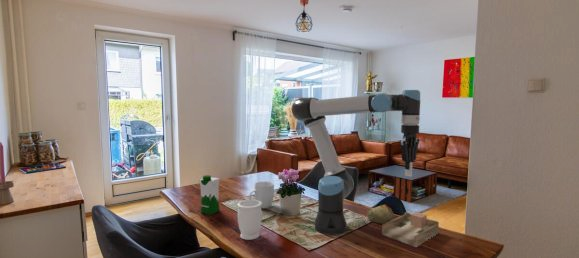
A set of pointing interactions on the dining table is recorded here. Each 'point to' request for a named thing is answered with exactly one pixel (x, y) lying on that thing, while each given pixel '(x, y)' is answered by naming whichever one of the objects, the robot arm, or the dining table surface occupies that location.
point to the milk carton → (209, 195)
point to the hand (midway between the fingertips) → (408, 176)
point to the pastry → (380, 214)
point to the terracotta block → (418, 220)
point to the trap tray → (409, 230)
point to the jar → (249, 218)
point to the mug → (264, 193)
